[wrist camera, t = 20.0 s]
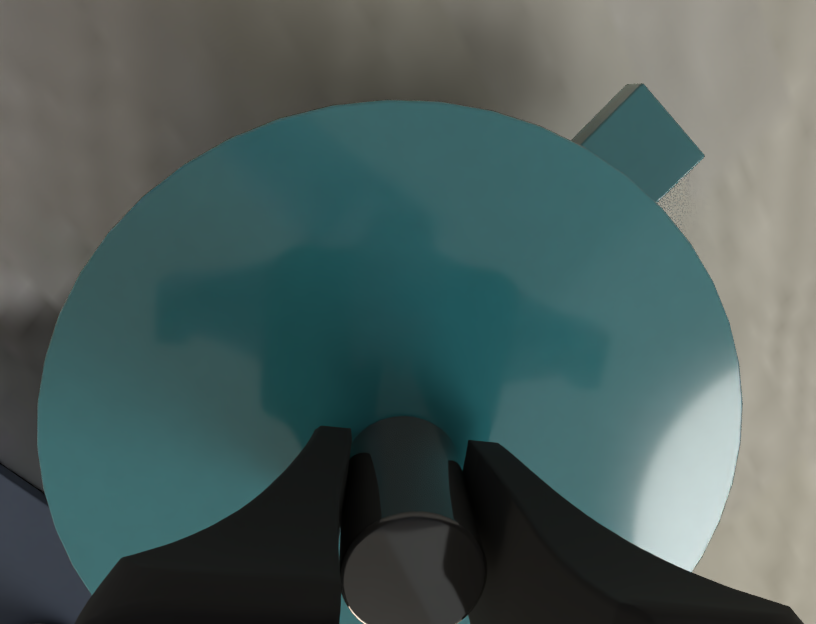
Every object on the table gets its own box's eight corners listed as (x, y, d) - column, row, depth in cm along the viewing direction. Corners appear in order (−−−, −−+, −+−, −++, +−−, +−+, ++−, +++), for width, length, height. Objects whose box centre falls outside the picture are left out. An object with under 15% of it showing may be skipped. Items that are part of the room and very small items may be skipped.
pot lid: (94, 14, 12) (-56, -35, 8) (817, 192, 14) (1024, 233, 10) (34, 657, 16) (-87, 863, 12) (603, 728, 18) (681, 930, 14)
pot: (14, 420, 21) (-72, 499, 17) (451, -74, 17) (479, -128, 13) (343, 652, 24) (339, 765, 20) (759, 275, 21) (856, 317, 17)
